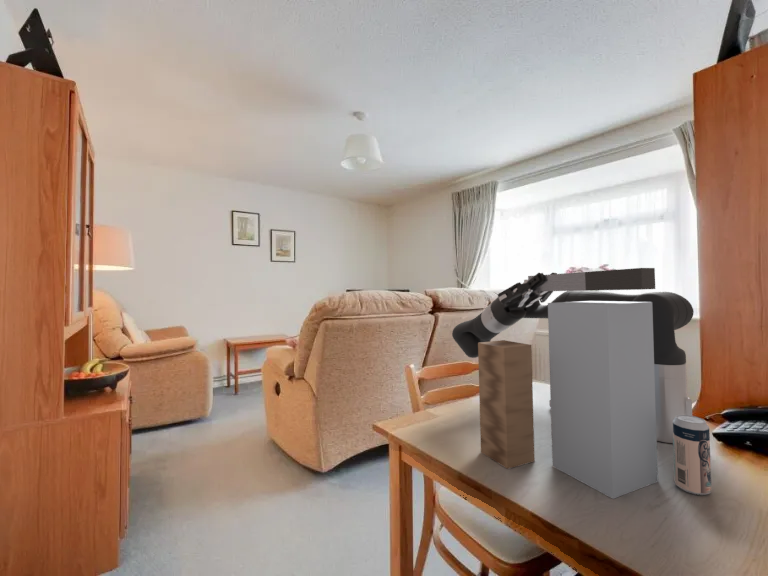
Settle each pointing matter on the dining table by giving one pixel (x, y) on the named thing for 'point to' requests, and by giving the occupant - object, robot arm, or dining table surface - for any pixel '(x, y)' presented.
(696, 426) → the cream and blue canister
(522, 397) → the walnut block
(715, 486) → the dining table surface
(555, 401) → the tall stand
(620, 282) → the dark grey long bar
